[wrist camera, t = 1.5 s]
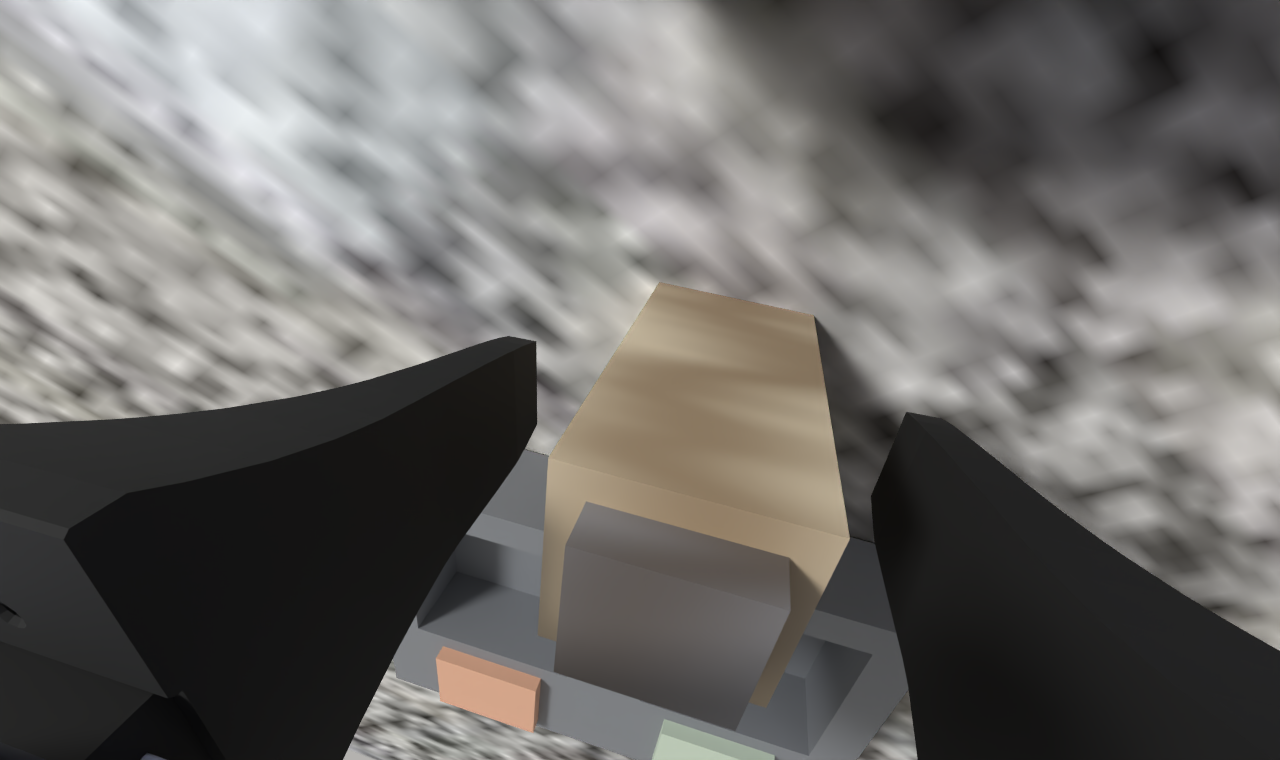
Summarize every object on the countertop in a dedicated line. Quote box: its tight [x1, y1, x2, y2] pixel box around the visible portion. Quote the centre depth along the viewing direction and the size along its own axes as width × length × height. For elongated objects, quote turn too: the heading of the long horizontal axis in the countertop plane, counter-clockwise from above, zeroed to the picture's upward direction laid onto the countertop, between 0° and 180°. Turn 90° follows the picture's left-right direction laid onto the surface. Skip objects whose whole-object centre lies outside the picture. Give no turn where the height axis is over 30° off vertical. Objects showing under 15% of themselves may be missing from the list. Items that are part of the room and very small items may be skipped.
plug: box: [538, 282, 850, 731], centre depth 9 cm, size 3×3×7 cm
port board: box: [393, 450, 908, 760], centre depth 15 cm, size 14×9×3 cm, turn 82°
